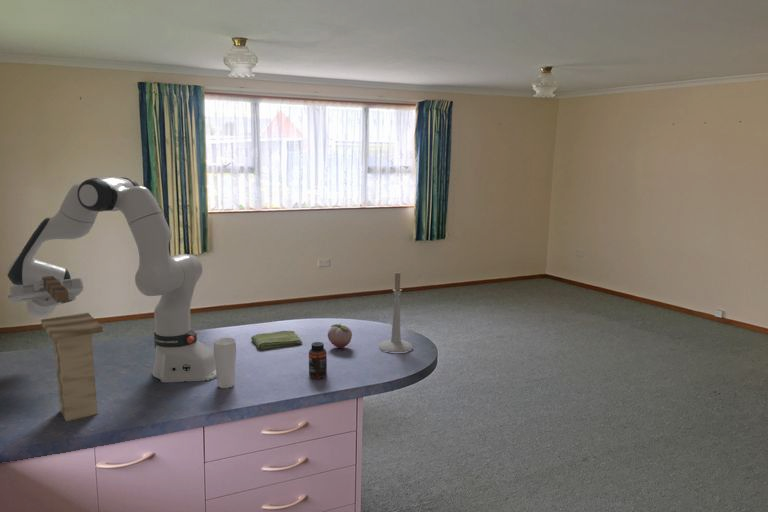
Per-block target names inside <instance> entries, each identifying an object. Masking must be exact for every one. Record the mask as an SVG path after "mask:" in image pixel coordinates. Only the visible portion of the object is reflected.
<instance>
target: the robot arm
mask: <svg viewBox="0 0 768 512" xmlns="http://www.w3.org/2000/svg"><path fill="white" fill-rule="evenodd" d="M116 211H120V212H121V213H122V214H123V215H124V217H125V220H126V222H127V224H128V228H129V230H130V232H131V234H132V236H133V239H134V242H135V243H136V246H137V251H138V255H139V256H138V257H139V259H138V261H139V262H138V263H139V264H138V268H137V271H136V273H135V275H134V281H135V286H136V288H137V290H138V291H139V293H141V294H143V295H144V296H147V297H158V296H161V297H160V300H159V301H158V303H156V306H155V308H154V312H153V315H154V330H155V331H154V332H153V345H154V348H155V356H154V364H153V368H152V373H151V374H152V376H153V377H154V378H156V379H159V380H160V382H161V383H181V382H184V381H187V382H205V380H207V381H211V380H213V379H215V378H217V377H216V376H217V375H216V367H215V360H214V350H212V349H211V348H210V347H208V346H206V345H205V344H204V343H202V342H200V341H199V340H198V339H197V336H198V335H199V331H198V330H197V331H194V330H193V329H192V328H191V304H192V299H193V296H194V291H195V288H196V285H197V283H198V282H199V279H201V276H202V274H203V265H202V263H201V261H200V259H199V257H197V256H195V255H194V254H188V253H186V254H184V253H183V254H182V253H180V254H175V255H171V253H170V249H169V244H170V242H171V240H172V238H173V237H172V235H173V233H172V231H171V229H170V227H169V224H168V223H167V220H166V217H165V215H164V213H163V211H162V209H161V207H160V205H159V203H158V201H157V199H156V198H155V196H154V195H153V193H152V192H151V190H150V189H148V187H146V186H144V185H143V186H142V185H140V184H138V182H137V181H135V180H133V179H132V178H127V177H117V176H116V177H114V176H102V177H92V178H89V179H86V180H84V181H83V182H77V183H75V184H73V185H72V186H71V187H70V189H69V190H68V192H67V193H66V195H65V197H64V199H63V201H62V203H61V205H60V207H59V210H58V211H57V212H56V214H55V215H53V216H51V217H46V218H44V219H43V220H42V221H41V222H40V223H39V225H38V226H37V227H36V229H35V230H34V232H32V234H31V236H30V237H29V239H28V240H27V242H26V244H25V245H24V246H23V248H22V249H21V252H20V253H19V254H18V255H17V257H16V258H14V260H13V261H12V262H11V263H10V265H9V267H8V269H7V278H8V280H9V281H10V282H11V283H12V286H9V293H10V294H9V295H8V296H7V299H8V300H11V301H12V302H13V303H21V302H26V310H27V312H28V314H30V315H31V316H32V317H34V318H38V319H39V318H40V319H42V318H46V317H49V315H51V314H52V313H53V312H54V310H55V309H56V307H57V306H61V305H63V304H66V303H70V302H74V301H76V300H77V296H80V294H81V293H82V292H83V291H84V284H83V283H84V282H83V279H82V278H80V277H76V278H71V273H70V272H69V270H68V269H67V268H65V267H62V266H60V265H56V264H53V263H52V264H51V263H49V262H45V261H42V260H39V259H36V258H35V255H36V254H37V253H38V251H39V249H40V248H41V246H42V245H43V244H44V243H45V242H48V241H50V240H52V241H53V240H77V239H80V238H83V237H85V236H86V235H88V234H89V233H90V231H91V230H92V228H93V226H94V224H95V221H96V219H97V216H98V214H99V213H101V212H116ZM47 276H54V277H55V278H56V279H57V280H58V281H59V282H60V283H61V284H62V285H63V286H64V287H65V288H66V289H67V290H68V297H69V301H66V302H58V303H57V302H56V301H55V300H54V299H53V297H52V296H51V295H50V294H49V293H48V292H47V290H46V289H45V288H44V287H45V283H44V281H42V277H47ZM210 379H211V380H210Z"/></svg>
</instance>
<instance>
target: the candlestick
mask: <svg viewBox="0 0 768 512" xmlns="http://www.w3.org/2000/svg"><path fill="white" fill-rule="evenodd" d="M392 291H393V295H394V299H393V313H392V314H393V315H392V325H391V337H390V339H387V340H384V341H382V342H380V343H379V345H378V349H379V348H380V349H382V350H384V351H388V352H405V351H409V350H411V349H412V350H413V345H412V343H410V342H408V341H406V340H403V339H401V306H400V305H401V301H400V300H401V299H400V296H401V293H402V291H403V289H401V272H400V271H395V272H394V288H393V289H392ZM380 349H379V350H380ZM412 350H411V351H412Z"/></svg>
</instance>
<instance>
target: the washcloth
mask: <svg viewBox="0 0 768 512" xmlns="http://www.w3.org/2000/svg"><path fill="white" fill-rule="evenodd" d="M250 339H251V341H252V342H253V344H254V345H256V347H257V349H258V350H259V349H265V350H271V349H270V348H273V349H278V348H277V347H280V348H285V347H284V346H286V347H291V346H299V345H301V344H303V341H302V340H301V338H300V337H299V335H298V334H297V333H296V332H295V331H294V330H280V331H279V330H278V331H274V332H273V331H272V332H266V333H265V332H264V333H258V334H254V335H252V336H251V337H250ZM298 344H299V345H298Z"/></svg>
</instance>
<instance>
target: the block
mask: <svg viewBox="0 0 768 512" xmlns="http://www.w3.org/2000/svg"><path fill="white" fill-rule="evenodd" d="M42 281H44V283H45V287H44V288H45V289H46V290H47V292H48V293H49V294H50V295H51V296H52V297H53V299H54V300H55V301H56V302H57V303H58V302H66V301H69V297H68V290H67V289H66V288H65V287H64V286H63V285H62V284H61V283H60V282H59V281H58V280H57V279H56V278H55V277H54V276H47V277H42Z"/></svg>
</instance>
